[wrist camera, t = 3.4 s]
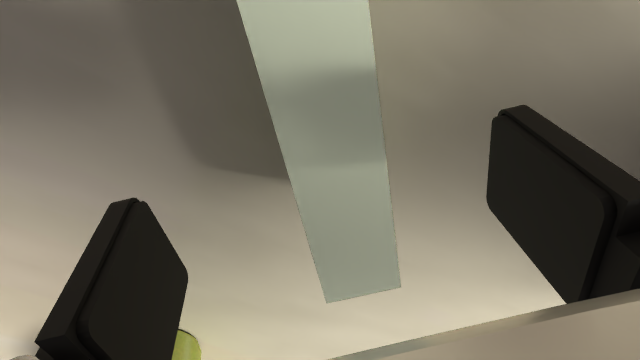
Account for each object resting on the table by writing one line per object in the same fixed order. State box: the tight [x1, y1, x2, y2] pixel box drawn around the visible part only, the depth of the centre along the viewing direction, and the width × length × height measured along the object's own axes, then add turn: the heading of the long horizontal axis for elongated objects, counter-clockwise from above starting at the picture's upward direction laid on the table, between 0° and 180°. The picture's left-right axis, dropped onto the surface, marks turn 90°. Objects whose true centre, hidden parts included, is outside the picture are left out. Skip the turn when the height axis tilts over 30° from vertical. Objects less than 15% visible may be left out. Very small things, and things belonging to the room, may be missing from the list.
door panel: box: [236, 0, 401, 303], centre depth 17 cm, size 4×16×10 cm, turn 11°
